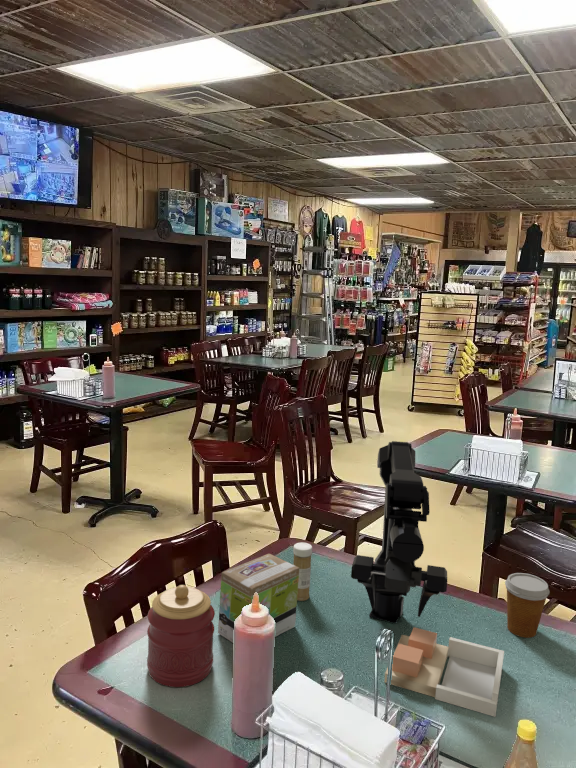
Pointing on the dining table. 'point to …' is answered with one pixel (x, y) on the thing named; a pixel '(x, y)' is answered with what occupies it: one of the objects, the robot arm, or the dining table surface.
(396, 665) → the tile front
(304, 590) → the sprinkles bottle
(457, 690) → the bin
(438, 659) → the birch plate
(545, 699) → the dining table surface
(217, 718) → the dining table surface
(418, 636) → the tile back
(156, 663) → the canister
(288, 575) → the tea box
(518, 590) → the disposable coffee cup
